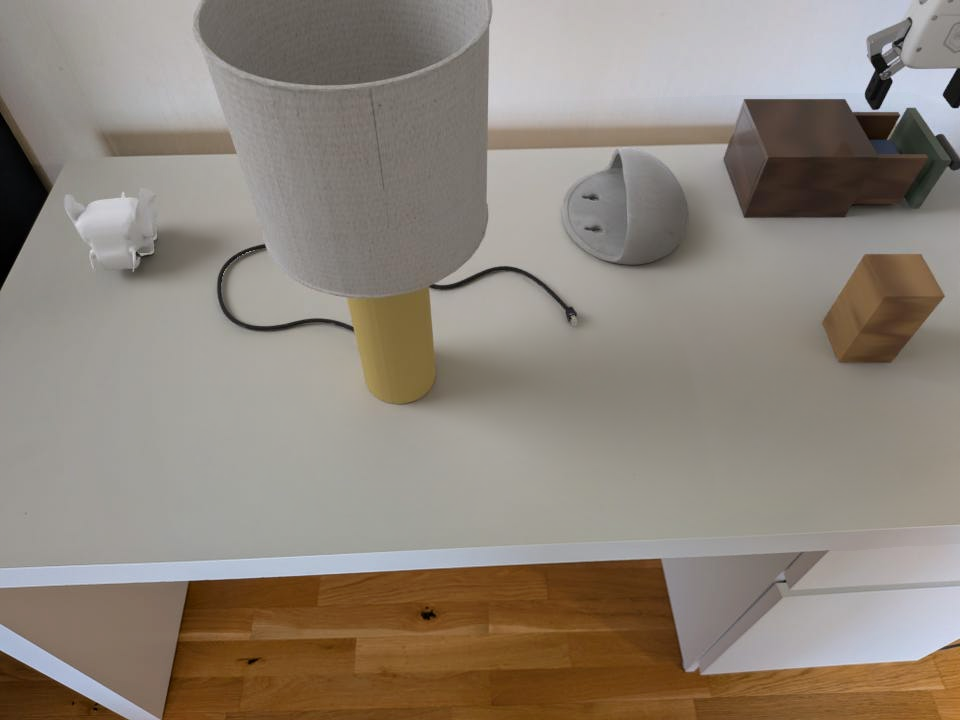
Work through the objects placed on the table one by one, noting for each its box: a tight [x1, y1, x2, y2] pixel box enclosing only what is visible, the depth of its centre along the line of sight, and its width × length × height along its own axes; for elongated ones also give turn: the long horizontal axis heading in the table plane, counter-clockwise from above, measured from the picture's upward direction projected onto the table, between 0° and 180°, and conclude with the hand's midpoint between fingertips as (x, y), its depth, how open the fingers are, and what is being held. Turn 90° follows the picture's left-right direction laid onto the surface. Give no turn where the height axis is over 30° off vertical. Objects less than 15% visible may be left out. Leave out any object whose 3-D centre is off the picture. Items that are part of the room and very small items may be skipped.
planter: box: [561, 146, 689, 266], centre depth 88 cm, size 19×7×16 cm
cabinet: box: [723, 98, 879, 218], centre depth 91 cm, size 14×13×10 cm
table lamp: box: [192, 0, 578, 405], centre depth 63 cm, size 40×34×40 cm
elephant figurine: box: [63, 187, 158, 276], centre depth 82 cm, size 10×12×9 cm
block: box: [869, 139, 899, 154], centre depth 91 cm, size 4×4×4 cm
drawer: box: [852, 107, 960, 210], centre depth 91 cm, size 17×11×8 cm
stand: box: [821, 253, 946, 363], centre depth 74 cm, size 6×6×11 cm
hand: (910, 102), depth 84 cm, fingers open, 9 cm apart
